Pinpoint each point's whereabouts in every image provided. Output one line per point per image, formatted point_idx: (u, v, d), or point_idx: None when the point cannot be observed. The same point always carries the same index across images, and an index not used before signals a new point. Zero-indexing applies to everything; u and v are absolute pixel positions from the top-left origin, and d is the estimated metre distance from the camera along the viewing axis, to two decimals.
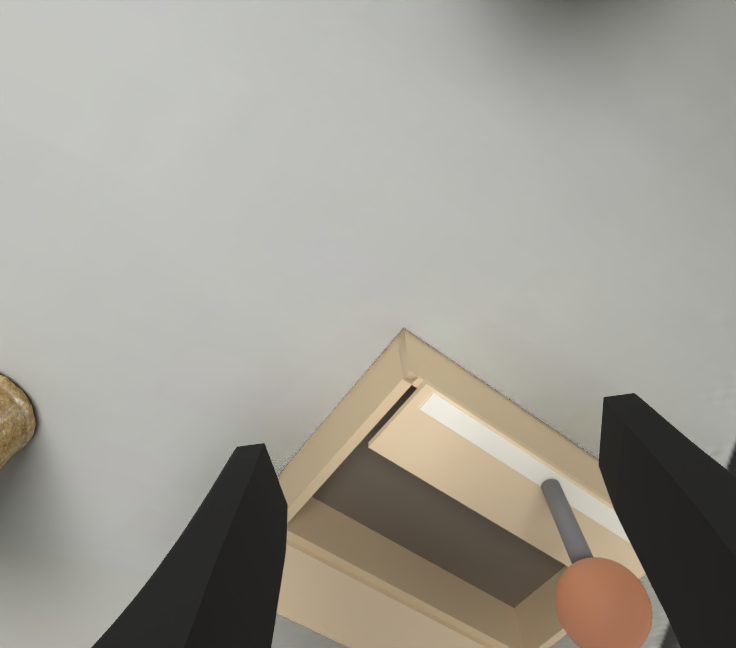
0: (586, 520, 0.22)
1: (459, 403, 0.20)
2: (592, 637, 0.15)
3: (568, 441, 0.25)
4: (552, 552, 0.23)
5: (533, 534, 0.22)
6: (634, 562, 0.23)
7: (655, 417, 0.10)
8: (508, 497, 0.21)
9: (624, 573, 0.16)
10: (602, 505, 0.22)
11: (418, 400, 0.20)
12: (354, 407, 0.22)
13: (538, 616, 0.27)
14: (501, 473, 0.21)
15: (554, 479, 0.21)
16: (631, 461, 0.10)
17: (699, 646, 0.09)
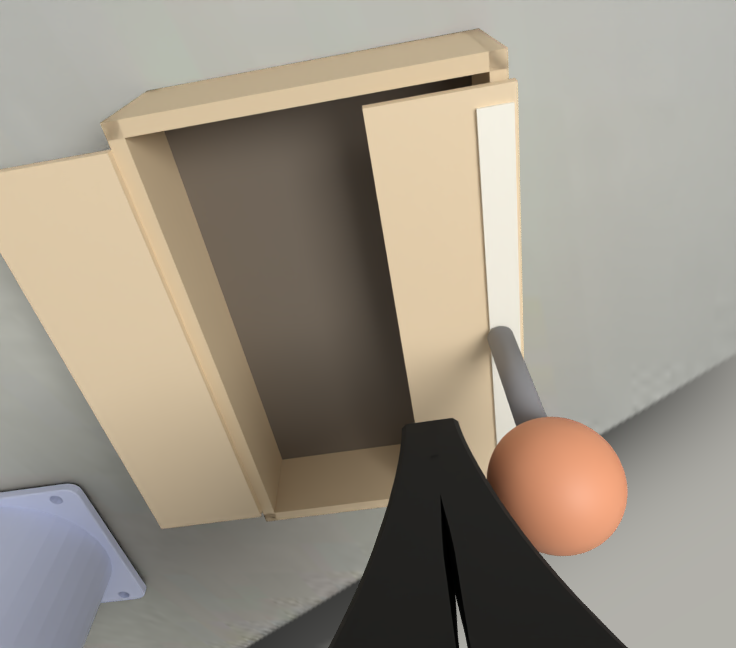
0: (486, 403, 0.17)
1: None
2: (554, 510, 0.10)
3: None
4: (420, 415, 0.17)
5: (423, 381, 0.16)
6: None
7: (457, 443, 0.11)
8: (444, 317, 0.15)
9: (619, 460, 0.11)
10: None
11: (485, 96, 0.12)
12: (354, 62, 0.14)
13: (312, 480, 0.21)
14: (467, 282, 0.15)
15: (512, 331, 0.15)
16: None
17: None
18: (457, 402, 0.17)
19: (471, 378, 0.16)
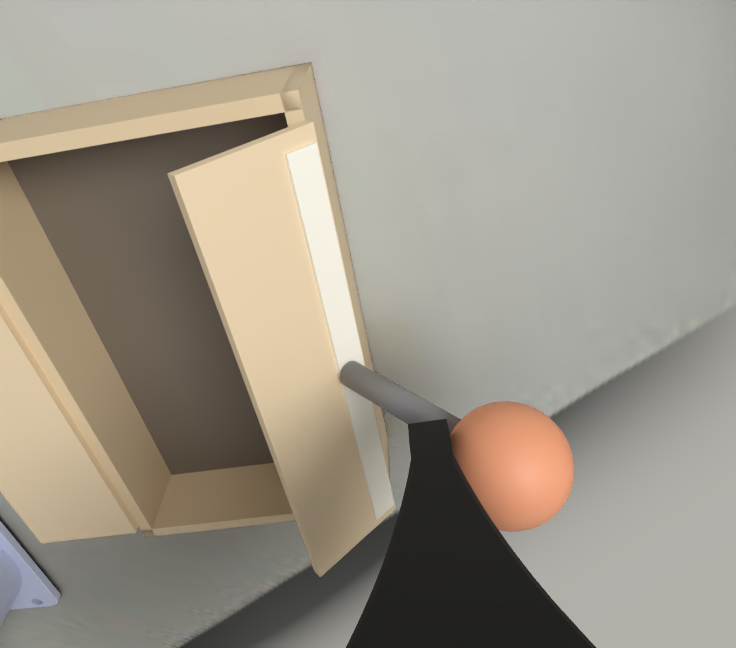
0: (349, 445, 0.16)
1: None
2: (544, 478, 0.11)
3: (368, 343, 0.20)
4: (295, 491, 0.15)
5: (291, 453, 0.15)
6: (357, 524, 0.18)
7: (440, 445, 0.11)
8: (298, 376, 0.14)
9: None
10: (374, 424, 0.17)
11: (289, 141, 0.12)
12: (174, 98, 0.14)
13: (194, 496, 0.21)
14: (310, 331, 0.14)
15: None
16: None
17: None
18: (325, 458, 0.16)
19: (333, 427, 0.16)
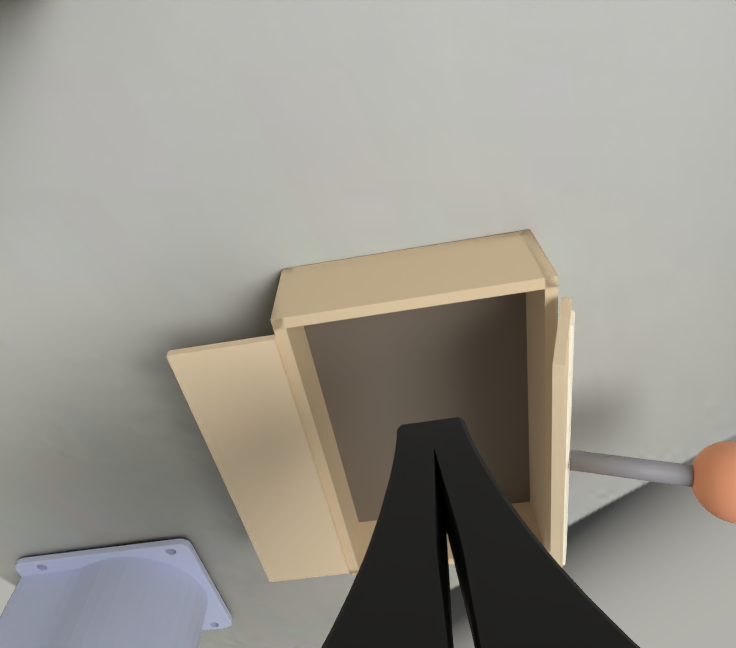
0: None
1: None
2: None
3: None
4: (559, 563, 0.20)
5: None
6: None
7: (463, 442, 0.11)
8: (563, 475, 0.19)
9: None
10: None
11: (569, 316, 0.17)
12: (443, 266, 0.19)
13: None
14: (565, 439, 0.19)
15: None
16: (441, 485, 0.11)
17: None
18: (562, 530, 0.21)
19: (563, 504, 0.20)
